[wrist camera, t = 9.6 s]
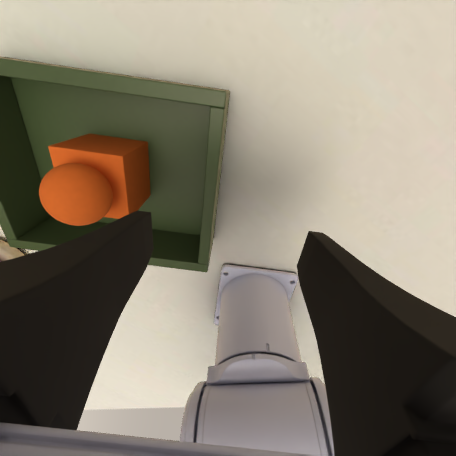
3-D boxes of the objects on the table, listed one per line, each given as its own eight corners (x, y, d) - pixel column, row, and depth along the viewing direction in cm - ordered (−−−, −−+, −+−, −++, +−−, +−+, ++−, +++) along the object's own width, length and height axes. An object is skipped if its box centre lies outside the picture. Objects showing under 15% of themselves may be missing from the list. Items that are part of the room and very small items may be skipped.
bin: (213, 239, 23) (207, 272, 19) (52, 217, 22) (9, 247, 18) (230, 90, 16) (226, 91, 12) (2, 56, 16) (-81, 46, 12)
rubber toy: (150, 195, 20) (106, 248, 13) (98, 188, 20) (28, 238, 13) (148, 141, 18) (93, 173, 11) (89, 133, 17) (-2, 160, 11)
